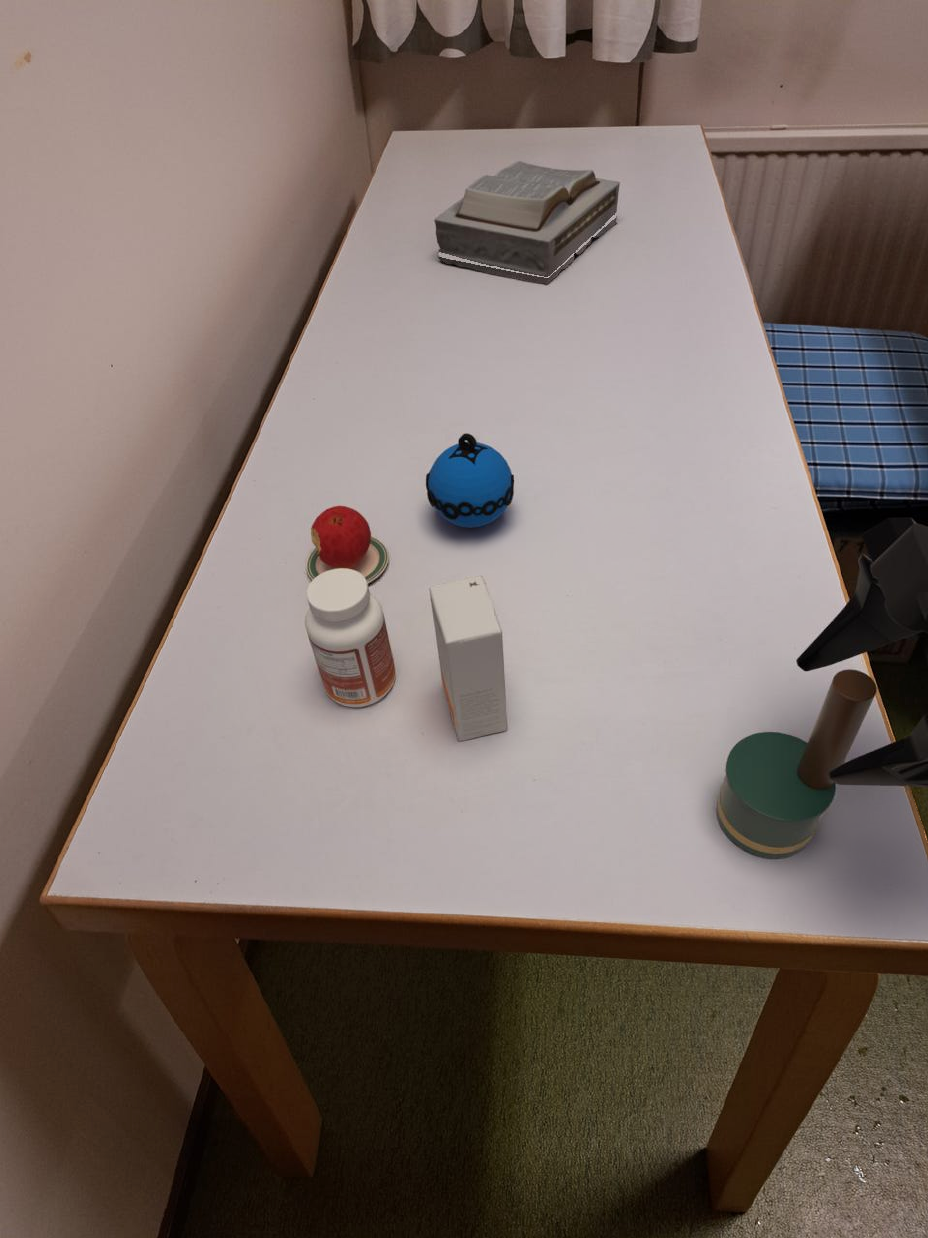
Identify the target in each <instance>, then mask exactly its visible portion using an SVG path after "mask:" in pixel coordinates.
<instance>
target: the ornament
mask: <svg viewBox="0 0 928 1238" xmlns="http://www.w3.org/2000/svg"><path fill="white" fill-rule="evenodd" d="M425 488H426V496H427V499H428V502H429V505H430V506H431V507H432V508H434V509H435V510H436V511H437V513H438V514H439V515H440V516H441V517H442V518H443V519H445V520H446V521H447V522H449V523H451V524H453V525H454V526H457V527H462V528H470V529H471V528H479V527H484V526H486V525H489V524H491V523H492V522H494V521H495V520H497V519H498V518H499V517H500V516H502V514H503V513H504V512H505V510H506V509H507V507H509V506H510V505H511V504H512V501H513V499H514V493H515V490H514V489H515V475H514V474H513V472H512V470H511V467H510V466H509V463H508V461H507V460H506V459H505V457H504V456H503V454H501V452H499V451H497V449H495V448H494V447H492V446H490V445H488V444H485V443H482V442H478V441H477V439H476V438H475V437H474V435H472V434H470V433H468V432H467V433H463V434H462V435H461V436H460V437H459V438H458V442H457V443H455V444H453V445H450V446H449V447H448V448H446V449H444V450H443V451H442V452H441V453H440V454H439V455H438V457H437V458H436V459H435V461H434V462H433V464H432V466H431V468H430V470H429V472H427V473H426V475H425Z"/></svg>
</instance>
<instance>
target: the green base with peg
mask: <svg viewBox="0 0 928 1238" xmlns="http://www.w3.org/2000/svg"><path fill="white" fill-rule="evenodd" d="M877 691H878V690H877V684H876V683H875V681H874V680H873V678H872V677H871V676H870V675H868V674H867V673H866V672H863V671H861V670H857V669H851V668H849V669H842V670H839V671H838V672H837V673H835V674H834V676H833V678H832V680H831V683H830V686H829V688H828V690H827V692H826V695H825V699H824V701H823V703H822V706H821V708H820V710H819V712H818V715H817V718H816V720H815V723H814V726H813V728H812V731H811V733H810V736H809V739H808V741H805V740H803V739H801V738H800V737H797V736H795V735H792V734H789V733H783V732H779V731H763V732H757V733H753V734H750V735H747V736H745V737H743V738H741V739H740V740H739V741H737V743H735V745H734V746H733V747H732V748H731V749H730V751H729V752H728V753H729V754H728V756H727V758H726V762H725V769H724V771H725V775H726V780H727V783H728V786H729V788H730V790H731V792H732V793H733V795H734V796H735V798H736V799H737V800H738V801H739V802H740V803H741V804H742V805H743V806H744V807H745V808H746V809H747V810H749V811H750V812H752V813H753V814H755V815H757V816H759V817H761V818H763V819H765V820H768V821H771V822H775V823H780V824H802V823H806V822H809V821H812V820H814V819H816V818H818V817H819V816H821V817H822V815H824V814H825V813H826V811H827V810H828V809H829V808H830V806H831V804H832V803H833V800H834V799H835V796H836V791H837V784H836V783H835V782H833V781H832V780H831V779H830V777H829V772H830V771H832V770H833V769H835V768H837V767H839V766H840V765H842V764H844V763H845V761H846V758H847V756H848V755H849V752H850V750H851V747H852V746H853V744H854V741H855V739H856V737H857V735H858V733H859V731H860V729H861V727H862V725H863V722H864V720H865V718H866V716H867V714H868V711H869V709H870V707H871V706H872V703H873V701H874V699H875V696H876V694H877Z"/></svg>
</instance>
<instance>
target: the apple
mask: <svg viewBox="0 0 928 1238" xmlns="http://www.w3.org/2000/svg"><path fill="white" fill-rule="evenodd" d="M310 532H311V533H310V534H311V537H310V538H311V542H312V544H313V546H315V547H314V548H313V549H312V550H311V552H310V553H309V555H308V557H307V559H306V563H305V569H306V573H307V575H308V577H309V578H310V579H311V580H312V581H313V580H314V579H315V578H316V577H317V576H318V575H320V574H322V573H324V572H326V571H328V570H332V569H339V568H347V569H352V570H355V571H357V572H359V573H361V574H362V575H363V576H364V577H365V579H366V581H367V584H368V585H369V584H370V583H372V582H374V581H376V579H378V578H380V576H382V574H383V573H384V572H385V570H386V568H387V566H388V564H389V551H388V548H387V546H386V545H385V544H384V543H383V542H382V541H381V540H380V539H378V538H376V537H374V536H372V531H371V527H370V524H369V522H368V521H367V519H366V518H365V517H364V515H362V514H361V513H360V512H359V511H357V510H355V509H354V508H351V507H349V506H345V505H334V506H331V507H329V508H326V509H325V510H323V511H322V512H321V513H320V514H319V515H317V516H316V518H315V520H314V522H313V523H312V525H311V528H310Z"/></svg>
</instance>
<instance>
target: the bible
mask: <svg viewBox="0 0 928 1238" xmlns="http://www.w3.org/2000/svg"><path fill="white" fill-rule="evenodd" d="M620 184H621V182H620V181H617V180H612V179H604V178H598V177H596V174H595V172H594V170H593V169H578V170H577V169H559V168H553V167H547V166H541V165H536V164H532V163H529V162H525V161H522V160H517V161H515V162H514V163H512V164H511V165H508V166H507V167H504V168H502V169H500V170H499V171H498V172H497V173H495V175H482V176H480V177H479V178H477V179H476V180H475V181H474V182H472V183H471V184H470V185H468V186H467V187H466V188H465V191H464V195H463V197H462V198H461V199H459V200H458V201H456V202H455V203H454V204H452V205H451V206H450V207H448V208H447V209H446V210H444V211H443V212H442V213H440V214H439V215H438V216H436V217H435V218H434V220H433V221H434V224H435V237H436V243H437V245H438V247H439V249H438V251H439V252H441V253H445V254H449V255H452V256H456V257H459V258H462V259H467V260H470V261H474V262H478V263H481V264H486V265H489V266H497V267H500V268H504V269H510V270H514V271H519V272H524V273H529V274H534V275H539V276H544V277H548V276H550V275H551V274H552V273H553V272H554V271H555V270H557V268H558V267H559V266H561V265H562V264H563V263H564V262H565V261H566V260H567V259H568V258H569V257H570V256H571V255H572V254H573V253H575V252H576V250H578V248H579V247H580V246H581V245H582V244H583V243H584V242H586V241H587V240H588V239H589V238H590V237H591V236H593V235H594V234H595V233H596V232H597V231H598V230H599V229H601V228H602V226H604V225H605V223H606V222H607V221H608V220H609V219H610V218H611V217H612V216H613V215H615V213H616V212H617V213H618V202H619V192H620ZM617 224H618V222H617V217H616V218H615V219H614V220H612V221H611V222H610V223H609V224H608V225H607V226H606V227H604V228H603V229H602V230H601V231H600V232H599V233H598V234H597V235H596V236H595V237H593V238H592V239H591V240H590V241H589V242H588V243H587V244H586V245H584V246H583V247H582V248H581V249H580V250H579V251H578V252H577V253H576V254H575V255H577V256H579V255H581V254H582V253H583V252H584V251H585V250H586V248H587V246H590V244H591V243H592V240H593V239H595V238H596V239H597V238H600V237H602V236H603V235H604V234H605V233H606V232H608V231H609V230H611V229H612V227H614V226H615V225H617ZM575 255H574V256H573V257H571V258H570V259H569V260H568V261H567V262H566V263H565V264H564V265H562V266H561V267H560V268H559V269H558V270H557V271H556V272H554V273H553V274H552V275H551V276H550V277H549V278H544V277H537V276H532V275H527V274H522V273H516V272H511V271H506V270H501V269H496V268H491V267H486V266H480V265H475V264H471V263H466V262H461V261H456V260H450V259H446V258H442V257H438V256H437V258H438V259H439V261H442V262H443V263H445V264H446V265H449V266H451V265H456V266H457V267H459V268H467V269H470V270H475V271H477V272H481V273H483V274H485V273H486V274H490V275H496V276H500V277H505V278H510V279H518V280H521V281H523V282H528V283H529V282H530V283H537V284H544V285H547V284H549V283H550V282H551V281H553V280H554V279H555V278H556V277H557V276H558V275H559V274H560V272H561V271H562V270H565V269H566V268H569V265H570V264H572V263H573V262H574V260H575Z"/></svg>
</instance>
